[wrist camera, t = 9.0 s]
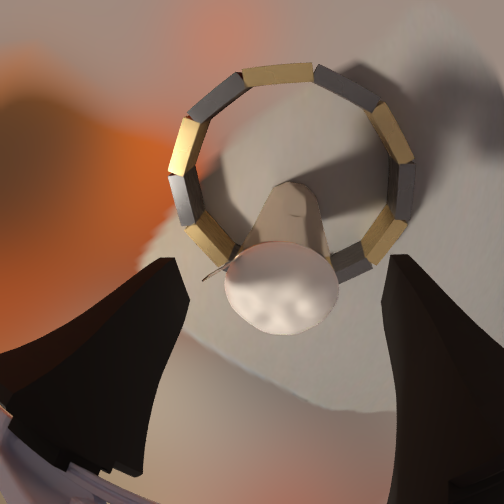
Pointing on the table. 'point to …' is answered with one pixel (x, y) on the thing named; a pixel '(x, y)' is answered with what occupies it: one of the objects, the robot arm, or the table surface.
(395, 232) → the ring
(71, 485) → the robot arm
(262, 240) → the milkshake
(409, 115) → the table surface
